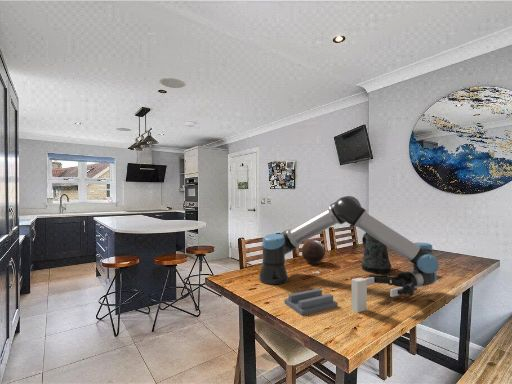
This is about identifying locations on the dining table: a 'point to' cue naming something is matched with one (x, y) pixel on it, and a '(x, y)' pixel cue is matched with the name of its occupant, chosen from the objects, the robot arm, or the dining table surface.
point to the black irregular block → (375, 256)
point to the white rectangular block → (359, 295)
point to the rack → (310, 301)
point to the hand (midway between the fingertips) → (376, 287)
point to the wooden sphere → (313, 251)
